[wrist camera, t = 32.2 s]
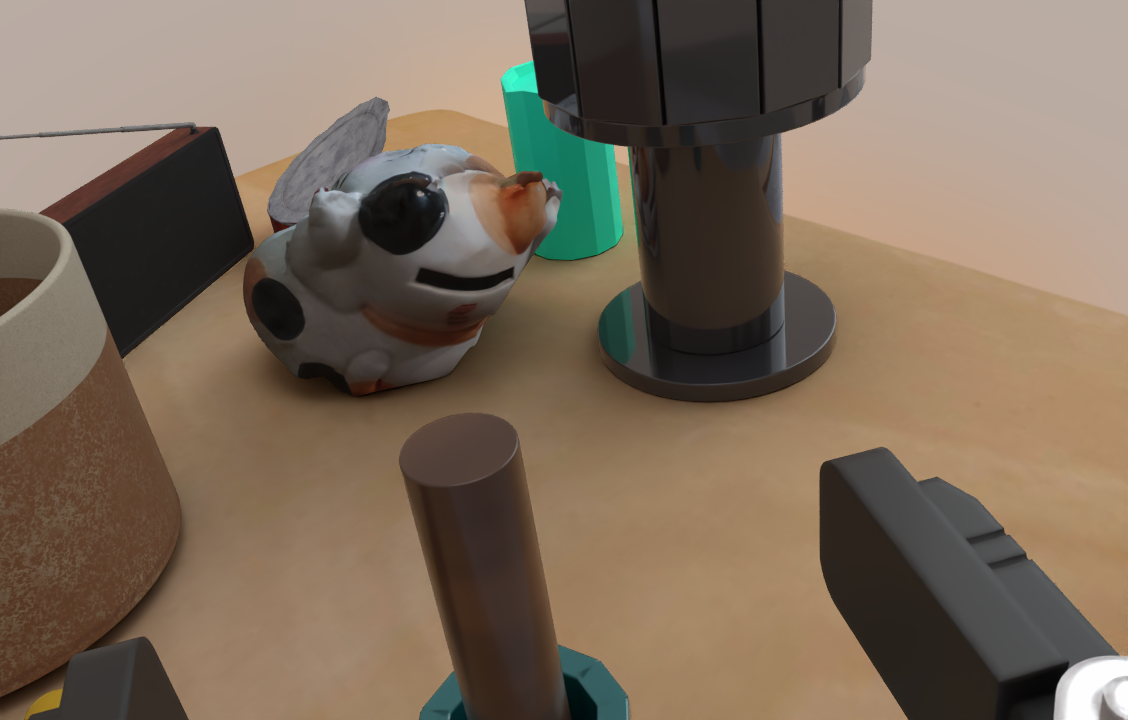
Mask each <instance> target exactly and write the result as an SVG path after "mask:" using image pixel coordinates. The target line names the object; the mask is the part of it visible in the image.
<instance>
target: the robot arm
mask: <svg viewBox="0 0 1128 720" xmlns="http://www.w3.org/2000/svg"><path fill="white" fill-rule="evenodd" d="M820 561H821V567H822V572H823V576H824V579H825V582H826V585H827V588H828V591H829V593H830V595H831V598H832V600H833V602H834V604H835V605H836V607H837V609H838V610H839V612H840V613H841V615H842V616H843V618H844V620H845V621H846V623H847V624H848V626H849V627H850V629H851V630H852V632H853V634H854V635H855V637H856V638H857V640H858V641H859V643H860V645H861V646H862V648H863V649H864V651H865V652H866V654H867V656H868V657H869V659H870V660H871V662H872V663H873V665H874V666H875V668H876V670H877V671H878V673H879V674H880V676H881V677H882V679H883V681H884V682H885V684H886V685H887V687H888V688H889V690H890V691H891V693H892V695H893V696H894V698H895V699H896V701H897V702H898V704H899V706H900V707H901V709H902V710H903V712H904V713H905V715H906V717H907V718H908V720H1128V657H1125V656H1120V655H1119V654H1118V653H1117V652H1116V651H1115V650H1114V649H1113V648H1112V647H1111V646H1110V645H1109V644H1108V643H1107V641H1106V640H1105V639H1104V638H1103V637H1102V636H1101V635H1100V634H1099V633H1098V632H1097V630H1096V629H1095V628H1094V627H1093V626H1092V625H1091V624H1090V623H1089V622H1088V621H1087V619H1086V618H1085V617H1084V616H1083V615H1082V614H1081V613H1080V612H1079V611H1078V610H1077V608H1076V607H1075V606H1074V605H1073V604H1072V603H1071V602H1070V601H1069V600H1068V599H1067V597H1066V596H1065V595H1064V594H1063V593H1062V592H1061V591H1060V590H1059V589H1058V588H1057V586H1056V585H1055V584H1054V583H1053V582H1052V581H1051V580H1050V579H1049V578H1048V577H1047V575H1046V574H1045V573H1044V572H1043V571H1042V570H1041V569H1040V568H1039V567H1038V566H1037V564H1036V563H1035V562H1034V561H1033V560H1032V559H1031V560H1028V558H1027V556H1026V552H1025V551H1024V550H1023V549H1022V548H1021V547H1020V546H1019V545H1018V544H1017V542H1016V541H1015V540H1014V539H1013V538H1012V537H1011V536H1010V535H1006V534H1005V532H1004V528H1003V527H1002V526H1001V525H1000V524H999V523H998V522H997V521H996V519H995V518H994V517H993V516H992V515H991V514H990V513H989V512H988V511H987V510H986V508H985V507H984V506H983V505H982V504H981V503H980V502H979V501H978V500H977V499H976V498H974V497H973V496H971V495H969V494H967V493H965V492H964V491H962V490H960V489H958V488H956V487H955V486H953V485H951V484H949V483H947V482H946V481H944V480H942V479H940V478H938V477H934V478H931V479H927V480H923V481H919V482H917V481H916V480H915V479H914V478H913V477H912V476H911V474H910V473H909V472H908V471H907V470H906V468H905V467H904V466H903V465H902V464H901V463H900V461H899V460H898V459H897V458H896V457H895V456H894V454H893V453H892V452H891V451H889V450H888V449H886V448H884V447H879V448H875V449H872V450H868V451H864V452H860V453H856V454H852V455H848V456H845V457H841V458H837V459H833V460H829V461H826V462H824V463H823V464H822V466H821V469H820ZM28 720H189V719H188V717H187V715H186V713H185V711H184V709H183V707H182V705H181V703H180V701H179V699H178V696H177V694H176V692H175V690H174V688H173V686H172V684H171V682H170V680H169V678H168V676H167V674H166V672H165V670H164V668H163V665H162V663H161V661H160V659H159V657H158V655H157V653H156V651H155V649H154V647H153V645H152V644H151V642H150V641H149V640H148V639H147V638H145V637H139V638H135V639H131V640H127V641H123V642H119V643H115V644H112V645H108V646H104V647H100V648H96V649H92V650H88V651H85V652H81V653H77V654H75V655H73V657H72V658H71V660H70V662H69V665H68V668H67V673H66V677H65V682H64V687H63V691H62V696H61V700H60V705H59V707H58V708H54V709H51V710H47V711H43V712H39V713H36V714H32V715H31V716H30V717H29V719H28Z"/></svg>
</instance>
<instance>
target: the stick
mask: <svg viewBox="0 0 1128 720" xmlns="http://www.w3.org/2000/svg"><path fill="white" fill-rule="evenodd" d="M399 464H400V468H401V472H402V476H403V479H404V483H405V487H406V491H407V494H408V498H409V502H410V506H411V510H412V513H413V517H414V521H415V525H416V528H417V532H418V536H419V540H420V543H421V547H422V551H423V555H424V558H425V562H426V566H427V570H428V573H429V577H430V581H431V585H432V588H433V592H434V596H435V600H436V603H437V607H438V611H439V615H440V618H441V622H442V626H443V630H444V634H445V637H446V641H447V645H448V649H449V652H450V656H451V660H452V664H453V667H454V671H455V675H456V679H457V682H458V686H459V690H460V694H461V697H462V701H463V705H464V709H465V712H466V716H467V720H571V714H570V709H569V704H568V698H567V693H566V688H565V682H564V677H563V672H562V666H561V661H560V656H559V651H558V645H557V640H556V635H555V629H554V624H553V619H552V613H551V608H550V603H549V597H548V592H547V587H546V581H545V576H544V571H543V565H542V560H541V555H540V549H539V544H538V539H537V533H536V528H535V523H534V517H533V512H532V507H531V501H530V496H529V491H528V485H527V480H526V475H525V469H524V464H523V459H522V453H521V448H520V443H519V438H518V434H517V432H516V430H515V429H514V428H513V426H512V425H510V424H509V423H508V422H507V421H505V420H504V419H501V418H499V417H496V416H493V415H489V414H483V413H464V414H457V415H452V416H448V417H444V418H441V419H438V420H436V421H433V422H431V423H429V424H427V425H425V426H424V427H422V428H421V429H419V430H418V431H416V432H415V433H414V434H413V435H412V436H411V437H410V438H409V439H408V440H407V441H406V442H405V444H404V446H403V447H402V450H401V452H400V457H399Z"/></svg>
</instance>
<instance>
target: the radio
mask: <svg viewBox="0 0 1128 720" xmlns="http://www.w3.org/2000/svg"><path fill="white" fill-rule="evenodd" d="M176 128H177V129H176ZM162 129H175V130H173V131H172V132H170V133H169V134H167V135H165V136H164V137H162V138H160V139H159V140H157V141H155V142H154V143H152V144H151V145H149V146H147V147H146V148H144V149H142V150H141V151H139V152H138V153H136V154H134V155H133V156H131V157H130V158H128V159H126V160H124V161H123V162H121V163H120V164H118V165H116V166H115V167H113V168H112V169H110V170H108V171H107V172H105V173H103V174H102V175H100V176H98V177H97V178H95V179H94V180H92V181H90V182H89V183H87V184H85V185H84V186H82V187H80V188H79V189H77V190H76V191H74V192H72V193H71V194H69V195H67V196H66V197H64V198H63V199H61V200H59V201H58V202H56V203H54V204H53V205H51V206H49V207H48V208H46V209H45V210H43V211H41V212H40V213H38V214H41V215H44V216H47V217H49V218H51V219H53V220H55V221H57V222H58V223H60V224H61V225H62V226H64V228H65V229H66V230H67V231H68V233H69V234H70V236H71V238H72V241H73V243H74V246H75V248H76V250H77V253H78V255H79V258H80V260H81V262H82V265H83V267H84V270H85V272H86V274H87V277H88V279H89V282H90V284H91V287H92V289H93V291H94V294H95V296H96V299H97V301H98V303H99V306H100V308H101V311H102V313H103V315H104V318H105V320H106V323H107V325H108V328H109V330H110V332H111V335H112V337H113V340H114V342H115V344H116V347H117V349H118V352H119V354H120V357H121V358H123V357H124V356H125V355H126V354H127V353H129V352H130V351H131V350H132V349H133V348H135V347H136V346H137V345H138V344H139V343H141V342H142V341H143V340H144V339H145V338H147V337H148V336H149V335H150V334H152V333H153V332H154V331H155V330H156V329H158V328H159V327H160V326H161V325H162V324H164V323H165V322H166V321H167V320H168V319H170V318H171V317H172V316H173V315H174V314H176V313H177V312H178V311H179V310H180V309H182V308H183V307H184V306H185V305H186V304H188V303H189V302H190V301H191V300H192V299H194V298H195V297H196V296H197V295H198V294H200V293H201V292H202V291H203V290H204V289H206V288H207V287H208V286H209V285H210V284H212V283H213V282H214V281H215V280H216V279H218V278H219V277H220V276H221V275H222V274H224V273H225V272H226V271H227V270H228V269H230V268H231V267H232V266H233V265H234V264H236V263H237V262H238V261H239V260H240V259H242V258H243V257H244V256H245V255H246V254H248V253H249V252H250V251H251V250H252V249H253V248H254V240H253V236H252V233H251V230H250V227H249V224H248V220H247V217H246V214H245V211H244V208H243V205H242V201H241V198H240V195H239V192H238V189H237V186H236V182H235V179H234V176H233V173H232V170H231V167H230V163H229V160H228V157H227V154H226V151H225V147H224V145H223V141H222V138H221V135H220V132H219V130H218V128H216V127H196V125H195V123H191V122H190V123H174V124H159V125H144V126H127V127H120V128H108V129H107V128H106V129H91V130H76V131H61V132H46V133H39V134H25V135H9V136H0V140H1V139H15V138H30V137H52V136H53V137H54V136H67V135H82V134H96V133H111V132H134V131H148V130H162Z"/></svg>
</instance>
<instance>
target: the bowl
mask: <svg viewBox="0 0 1128 720" xmlns="http://www.w3.org/2000/svg"><path fill="white" fill-rule="evenodd" d="M524 1H525V7H526V14H527V21H528V29H529V35H530V42H531V49H532V56H533V63H534V70H535V77H536V84H537V91H538V96H539V97H540V99H542V104H543V111H544V113H545V115H546V117H547V119H548V120H549V121H550V122H551V123H552V124H553V125H555V126H556V127H558V128H559V129H561V130H562V131H564V132H567V133H569V134H571V135H573V136H576V137H580V138H583V139H586V140H590V141H594V142H599V143H604V144H611V145H618V146H627V147H628V156H629V166H630V175H631V185H632V195H633V205H634V215H635V225H636V235H637V244H638V254H639V264H640V274H641V281H639V282H638V283H636V284H634V285H632V286H630V287H628V288H627V289H625V290H624V291H622V292H621V293H620V294H618V295H617V296H616V297H615V298H614V299H613V300H612V301H611V302H610V303H609V304H608V305H607V306H606V308H605V309H604V311H603V312H602V314H601V317H600V319H599V322H598V328H597V334H598V342H599V350H600V354H601V357H602V359H603V361H604V363H605V364H606V366H607V367H608V368H609V369H610V371H611V372H612V373H613V374H614V375H615V376H617V377H618V378H620V379H621V380H622V381H624V382H625V383H627V384H629V385H631V386H633V387H635V388H637V389H639V390H642V391H645V392H647V393H650V394H654V395H657V396H661V397H666V398H671V399H676V400H685V401H700V402H715V401H730V400H738V399H745V398H750V397H755V396H760V395H764V394H767V393H770V392H774V391H777V390H779V389H782V388H785V387H787V386H790V385H792V384H794V383H796V382H798V381H800V380H802V379H803V378H805V377H806V376H808V375H809V374H811V373H812V372H814V371H815V370H816V369H817V368H818V367H819V366H821V365H822V364H823V362H824V361H825V360H826V359H827V358H828V356H829V355H830V353H831V351H832V349H833V347H834V344H835V341H836V327H837V316H836V311H835V308H834V306H833V304H832V302H831V300H830V299H829V297H828V296H827V295H826V294H825V292H823V291H822V290H821V289H820V288H819V287H818V286H816V285H815V284H813V283H812V282H810V281H808V280H806V279H804V278H802V277H800V276H798V275H796V274H793V273H790V272H787V271H784V237H783V189H782V143H781V142H782V140H781V133H782V132H786V131H789V130H793V129H796V128H799V127H802V126H805V125H808V124H810V123H813V122H815V121H818V120H820V119H823V118H825V117H827V116H829V115H831V114H833V113H835V112H836V111H838V110H840V109H841V108H843V107H844V106H846V105H847V104H849V103H850V102H851V101H852V100H853V99H854V98H855V97H856V96H857V95H858V94H859V92H860V91H861V90H862V88H863V85H864V83H865V65H866V64H867V63H868V62H869V61H870V60H871V38H872V36H871V35H872V0H524Z"/></svg>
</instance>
